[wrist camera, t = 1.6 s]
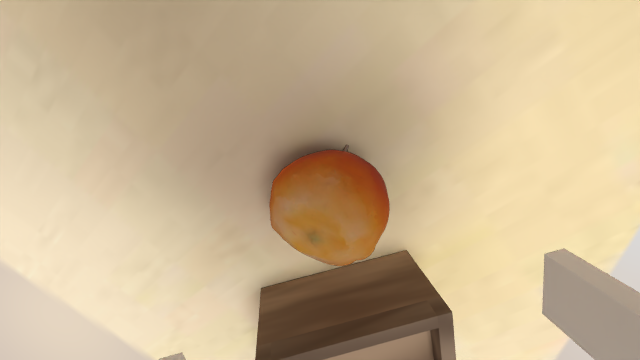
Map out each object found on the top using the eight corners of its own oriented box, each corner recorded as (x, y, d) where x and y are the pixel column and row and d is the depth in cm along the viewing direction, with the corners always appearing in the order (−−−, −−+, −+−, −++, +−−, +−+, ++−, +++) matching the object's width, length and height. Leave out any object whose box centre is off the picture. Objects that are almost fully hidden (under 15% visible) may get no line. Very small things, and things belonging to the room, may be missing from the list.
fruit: (417, 192, 24) (406, 275, 17) (335, 217, 28) (303, 291, 22) (364, 103, 21) (330, 164, 15) (282, 146, 25) (229, 208, 19)
